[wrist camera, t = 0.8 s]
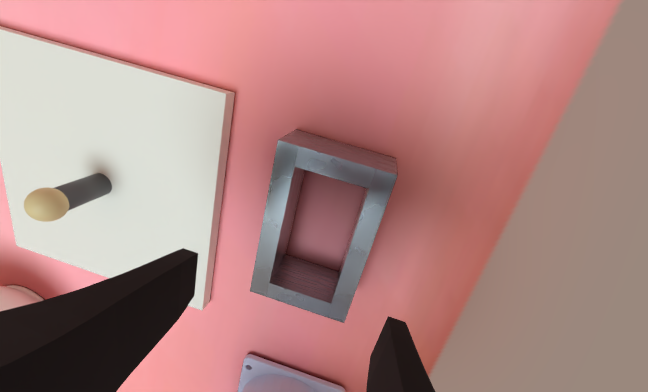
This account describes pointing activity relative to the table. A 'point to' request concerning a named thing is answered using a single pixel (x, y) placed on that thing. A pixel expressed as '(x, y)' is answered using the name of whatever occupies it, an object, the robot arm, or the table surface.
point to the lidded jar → (17, 297)
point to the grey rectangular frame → (286, 180)
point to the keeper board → (110, 158)
